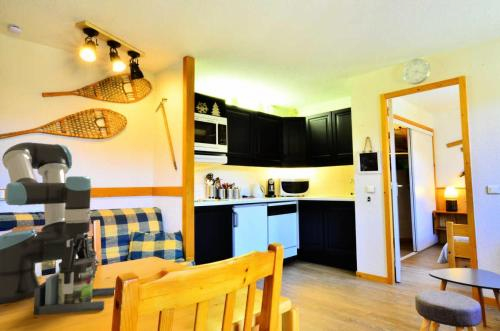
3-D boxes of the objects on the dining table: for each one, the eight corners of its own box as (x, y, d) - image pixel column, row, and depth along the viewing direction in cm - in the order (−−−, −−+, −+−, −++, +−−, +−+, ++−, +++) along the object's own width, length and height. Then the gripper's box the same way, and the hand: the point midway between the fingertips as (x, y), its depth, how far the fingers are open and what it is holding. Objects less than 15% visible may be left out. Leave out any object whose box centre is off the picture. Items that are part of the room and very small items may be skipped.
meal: (72, 276, 130) (73, 246, 131) (82, 274, 134) (83, 245, 135) (88, 283, 121) (88, 250, 122) (98, 280, 124) (99, 249, 125)
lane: (33, 315, 91) (34, 288, 91) (55, 298, 104) (55, 275, 105) (103, 309, 94) (103, 284, 95) (115, 294, 108) (115, 271, 108)
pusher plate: (44, 311, 93) (46, 278, 93) (60, 298, 103) (61, 269, 104) (50, 311, 93) (51, 278, 94) (65, 298, 104) (66, 269, 104)
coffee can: (99, 299, 103) (100, 258, 104) (76, 311, 93) (78, 265, 94) (74, 297, 105) (75, 257, 106) (49, 309, 95) (50, 264, 96)
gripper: (75, 225, 90) (73, 299, 89) (99, 217, 113) (98, 276, 112) (48, 226, 89) (45, 301, 87) (78, 218, 112) (76, 277, 110)
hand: (75, 287), depth 100 cm, fingers open, 11 cm apart
